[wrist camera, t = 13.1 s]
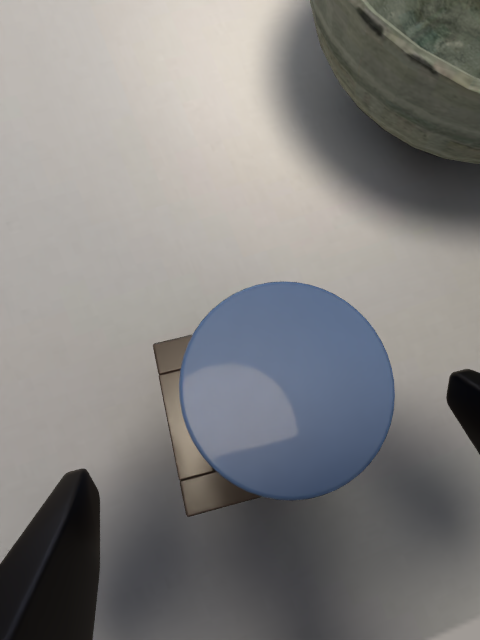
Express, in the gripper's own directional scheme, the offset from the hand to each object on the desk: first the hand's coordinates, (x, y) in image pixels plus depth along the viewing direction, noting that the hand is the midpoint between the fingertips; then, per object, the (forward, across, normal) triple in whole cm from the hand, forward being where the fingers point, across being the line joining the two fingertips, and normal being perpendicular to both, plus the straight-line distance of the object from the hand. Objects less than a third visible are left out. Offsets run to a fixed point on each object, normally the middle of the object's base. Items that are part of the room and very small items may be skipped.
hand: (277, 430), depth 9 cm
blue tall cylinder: (+8, 0, +6) cm, 10 cm away
